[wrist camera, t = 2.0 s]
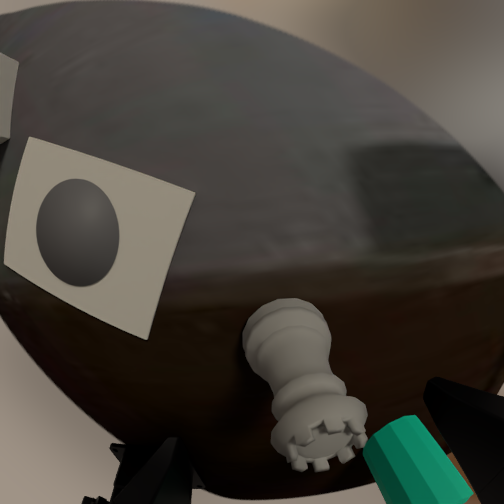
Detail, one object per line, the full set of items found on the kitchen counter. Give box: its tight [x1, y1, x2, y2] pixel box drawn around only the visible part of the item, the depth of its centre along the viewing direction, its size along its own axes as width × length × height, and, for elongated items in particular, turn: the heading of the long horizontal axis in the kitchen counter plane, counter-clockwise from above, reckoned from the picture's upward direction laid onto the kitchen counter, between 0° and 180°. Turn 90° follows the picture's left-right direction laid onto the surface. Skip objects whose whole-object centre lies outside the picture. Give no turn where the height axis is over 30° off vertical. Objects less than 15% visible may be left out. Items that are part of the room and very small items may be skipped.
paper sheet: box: [4, 137, 196, 340], centre depth 12 cm, size 11×8×1 cm
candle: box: [363, 415, 473, 504], centre depth 11 cm, size 6×6×12 cm
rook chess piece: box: [242, 298, 368, 472], centre depth 10 cm, size 4×4×8 cm
